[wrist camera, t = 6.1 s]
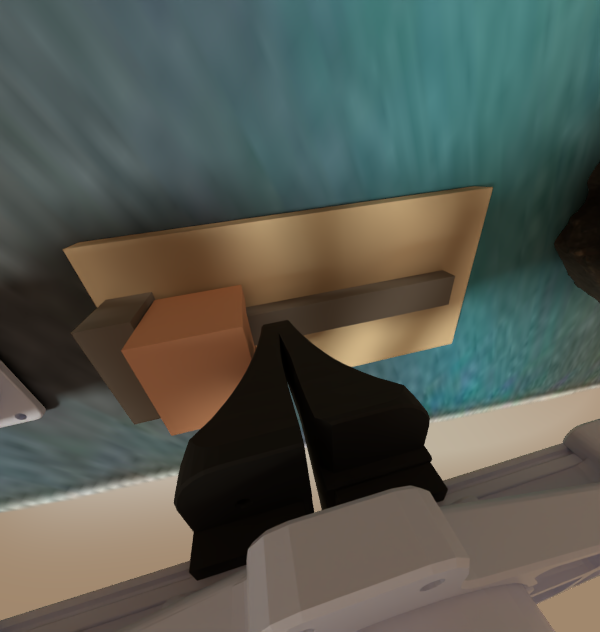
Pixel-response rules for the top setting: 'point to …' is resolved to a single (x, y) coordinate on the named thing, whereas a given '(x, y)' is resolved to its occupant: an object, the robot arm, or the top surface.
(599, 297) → the rock sample
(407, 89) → the top surface
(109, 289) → the rail board
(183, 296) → the slider block
